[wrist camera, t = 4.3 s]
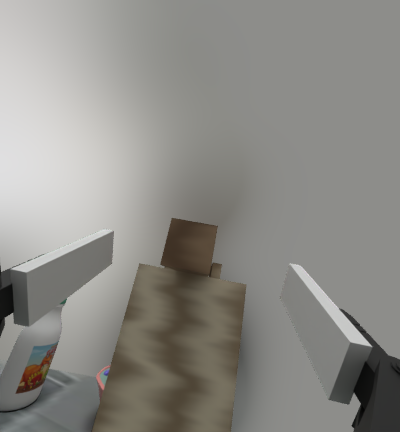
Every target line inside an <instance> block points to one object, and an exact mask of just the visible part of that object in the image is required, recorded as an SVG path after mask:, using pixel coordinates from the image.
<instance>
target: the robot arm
mask: <svg viewBox="0 0 400 432" xmlns="http://www.w3.org/2000/svg"><path fill="white" fill-rule="evenodd" d="M113 236H114V231H113V230H107V229H103V230H101V231H98V232H96V233H94V234H92V235H89V236H87V237H84V238H82V239H80V240H78V241H75V242H73V243H70V244H68V245H66V246H63V247H61V248H59V249H56V250H54V251H52V252H49V253H47V254H43V255H41V256H38V257H36V258H34V259H31V260H29V261H27V262H24V263H22V264H19V265H17V266H14V267H12V268H10V269H7V270H5V271H3V272H1V267H0V336H1V333H2V331H3V328H4V326H5V317H7V316H8V315H10V314H11V313H13V315H14V323H15V324H18V325H23V326H26V327H30V326H31V325H33V324H34V323H35V322H37V321H38V320H39V319H40V318H42V317H43V316H44V315H46V314H47V313H48V312H50V311H51V310H52V309H54V308H55V307H56V306H57V305H59V304H60V303H61V302H63V301H64V300H65V299H67V298H68V297H69V296H70V295H72V294H73V293H74V292H75V291H77V290H78V289H80V288H81V287H82V286H83V285H85V284H86V283H87V282H89V281H90V280H91V279H93V278H94V277H95V276H96V275H98V274H99V273H100V272H102V271H103V270H104V269H106V268H107V267H108V266H109V265H111V264H112V253H113ZM280 299H281V301H282V303H283V305H284V307H285V309H286V311H287V313H288V315H289V318H290V320H291V322H292V323H293V326H294V328H295V330H296V332H297V334H298V336H299V338H300V341H301V343H302V345H303V347H304V349H305V351H306V353H307V355H308V358H309V360H310V362H311V364H312V366H313V368H314V370H315V372H316V374H317V376H318V379H319V380H320V383H321V385H322V387H323V389H324V391H325V393H326V395H327V397H328V399H329V400H332V401H336V402H340V403H344V404H349V403H350V401H351V398H352V395H353V393H355V395H356V396H357V398H358V400H359V401H360V403H361V405H360V408H359V410H358V412H357V415H356V417H355V419H354V422H353V424H352V427H353V428H354V432H400V360H399V359H397V358H395V357H392V356H388V355H387V354H386V352H385V351H384V350H383V349H382V348H381V347H380V346H379V345H378V344H377V343H376V342H375V341H374V340H373V338H372V337H371V336H370V335H369V334H368V333H366V331H365V330H364V329H363V328H362V327H361V326H360V324H359V323H358V322H357V321H356V320H355V319H354V318H353V317H352V316H351V315H349V314H348V313H347V312H345V311H344V310H342V309H339V308H338V307H337V306H336V305H335V304H334V303H333V302H332V301H331V300H330V298H329V297H328V296H327V295H326V294H325V293H324V292H323V291H322V289H321V288H320V287H319V286H318V285H317V284H316V282H315V281H314V280H313V279H312V278H311V277H310V276H309V275H308V273H307V272H306V271H305V270H304V269H303V268H302V267H301V266H300V265H295V264H290V263H289V266H288V270H287V274H286V278H285V281H284V285H283V289H282V292H281V296H280Z"/></svg>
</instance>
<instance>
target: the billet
mask: <svg viewBox="0 0 400 432" xmlns="http://www.w3.org/2000/svg"><path fill="white" fill-rule="evenodd" d="M217 227H218V226H214V225H209V224H203V223H198V222H192V221H186V220H181V219H175V218H172V220H171V224H170V228H169V232H168V236H167V240H166V244H165V248H164V252H163V256H162V260H161V265H163V266H165V267H168V268H171V269H173V270H176V271H181V272H186V273H191V274H196V275H201V276H206V277H208V276H209V274H210V269H211V263H212V257H213V251H214V244H215V238H216V233H217Z"/></svg>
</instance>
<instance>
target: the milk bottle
mask: <svg viewBox="0 0 400 432" xmlns="http://www.w3.org/2000/svg"><path fill="white" fill-rule="evenodd" d="M66 300H67V299H65V300H64V301H63V302H61V303H60V304H59V305H57V306H56V307H55V308H54V309H52V310H51V311H50V312H48V313H47V314H46V315H44V316H43V317H42V318H40V319H39V320H38V321H37V322H35V323H34V324H33V325H31V326H30V327H26V326H25V327H24V328H23V330H22V331H21V333H20V335H19V337H18V339H17V341H16V343H15V345H14V347H13V350H12V352H11V354H10V356H9V358H8V361H7V363H6V365H5V368H4V370H3V372H2V375H1V377H0V411H11V410H16V409H20V408H23V407H26V406H28V405H30V404H31V403H33V402H34V401H35V400H36V399H37V397H38V396H39V394H40V391H41V389H42V386H43V384H44V381H45V378H46V375H47V373H48V370H49V367H50V364H51V362H52V359H53V356H54V353H55V351H56V348H57V345H58V342H59V339H60V335H61V330H62V323H61V311H62V307H63V306H64V304H65V303H66Z"/></svg>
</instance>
